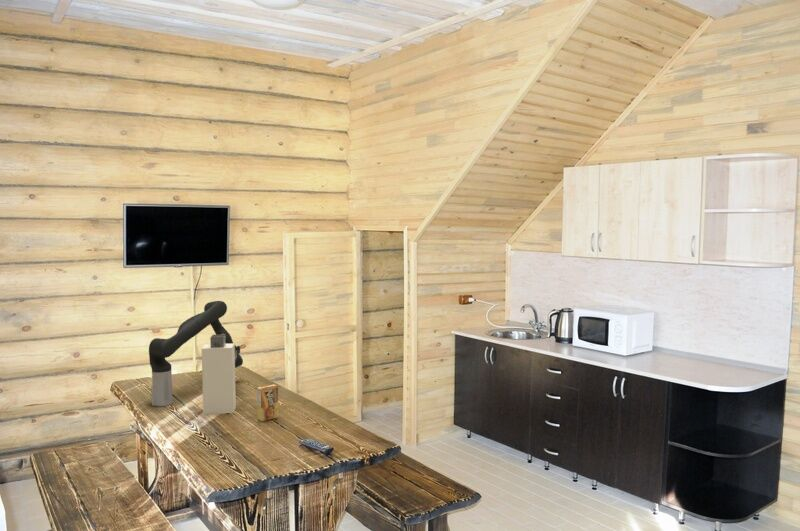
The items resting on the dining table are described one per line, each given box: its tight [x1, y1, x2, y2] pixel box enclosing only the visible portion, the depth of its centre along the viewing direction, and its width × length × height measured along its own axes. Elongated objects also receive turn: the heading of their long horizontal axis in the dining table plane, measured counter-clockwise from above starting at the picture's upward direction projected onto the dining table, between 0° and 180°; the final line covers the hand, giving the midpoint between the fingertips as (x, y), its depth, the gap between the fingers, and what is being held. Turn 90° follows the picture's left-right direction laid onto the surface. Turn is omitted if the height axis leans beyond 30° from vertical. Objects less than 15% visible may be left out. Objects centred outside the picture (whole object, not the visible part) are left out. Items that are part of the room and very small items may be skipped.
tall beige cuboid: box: [201, 342, 237, 415], centre depth 306 cm, size 14×10×32 cm
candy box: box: [256, 384, 279, 422], centre depth 296 cm, size 9×4×15 cm, turn 129°
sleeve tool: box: [210, 334, 226, 348], centre depth 310 cm, size 6×19×5 cm, turn 8°
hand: (224, 345), depth 326 cm, fingers open, 8 cm apart
